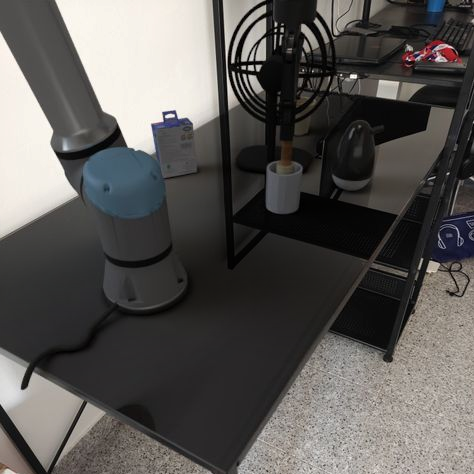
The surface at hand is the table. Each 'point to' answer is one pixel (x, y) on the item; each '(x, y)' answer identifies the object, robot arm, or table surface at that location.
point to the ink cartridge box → (174, 145)
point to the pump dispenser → (355, 156)
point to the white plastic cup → (283, 189)
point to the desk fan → (275, 88)
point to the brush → (286, 158)
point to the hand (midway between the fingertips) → (287, 137)
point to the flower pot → (304, 124)
